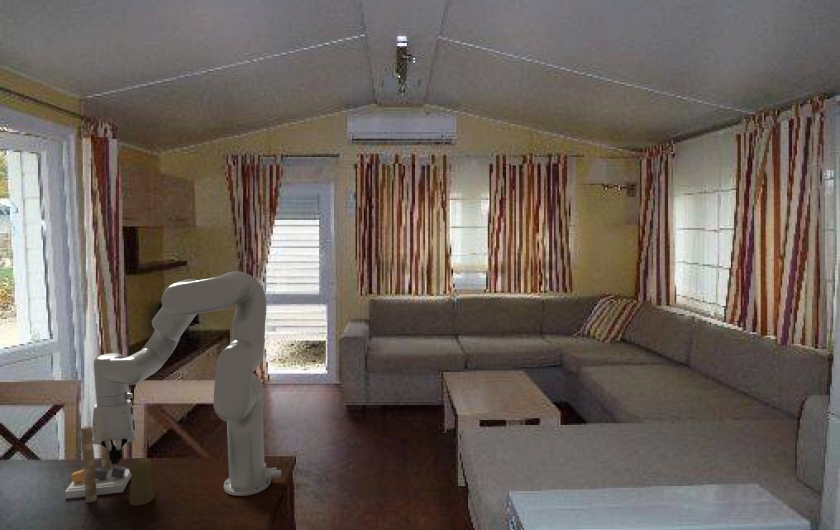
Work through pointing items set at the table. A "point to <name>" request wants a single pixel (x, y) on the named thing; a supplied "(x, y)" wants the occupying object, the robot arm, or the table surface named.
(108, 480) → the panel
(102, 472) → the grey block
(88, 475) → the post near
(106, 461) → the post far
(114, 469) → the grey block
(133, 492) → the cork
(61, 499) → the table surface
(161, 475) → the table surface
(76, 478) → the orange block
